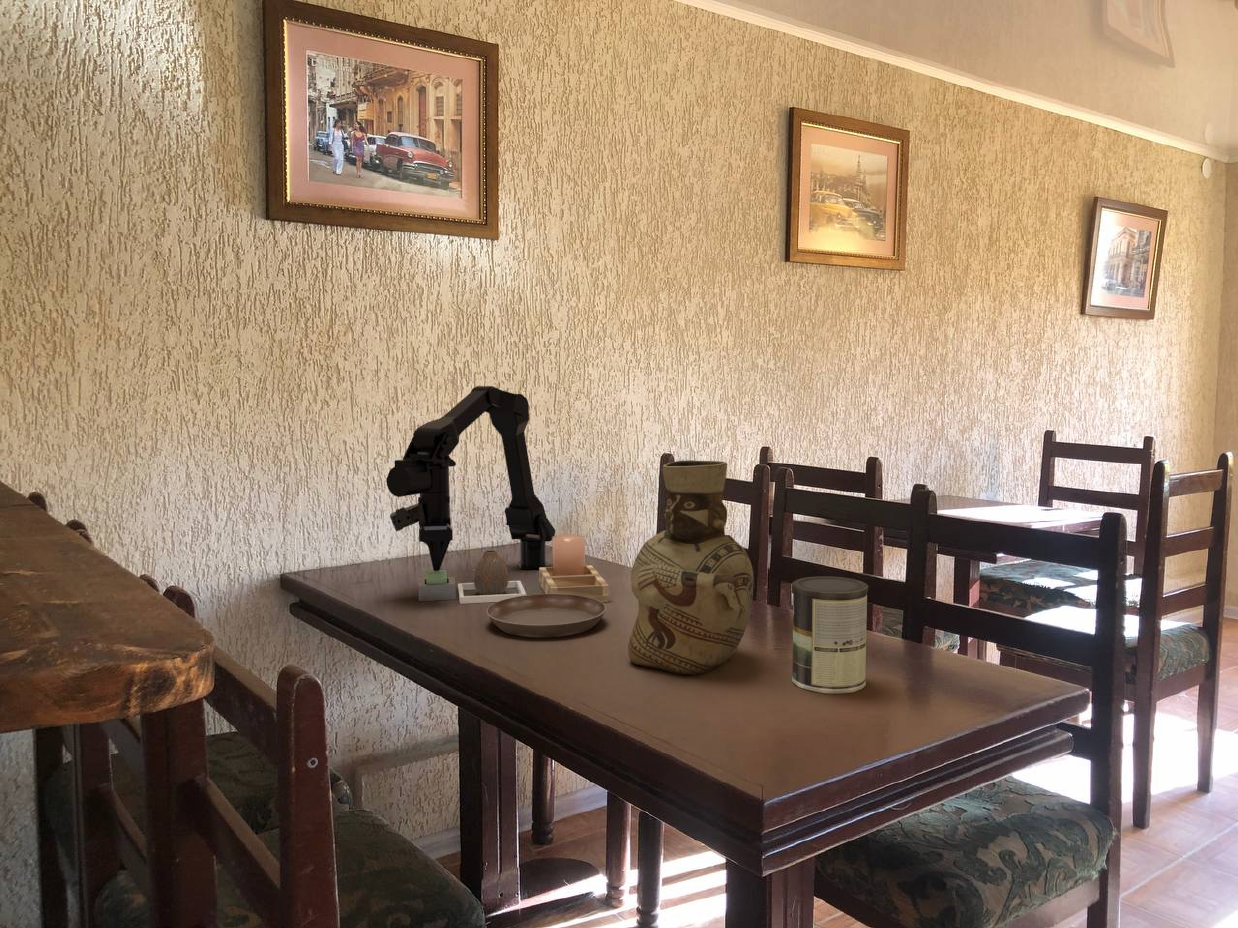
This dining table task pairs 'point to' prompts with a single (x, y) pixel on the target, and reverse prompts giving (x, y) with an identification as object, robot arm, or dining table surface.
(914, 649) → the dining table surface
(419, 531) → the robot arm
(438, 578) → the button
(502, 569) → the vase
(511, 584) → the white square frame
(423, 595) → the button housing
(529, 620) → the plant saucer
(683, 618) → the ceramic vessel
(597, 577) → the pallet
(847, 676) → the coffee can
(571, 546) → the block
